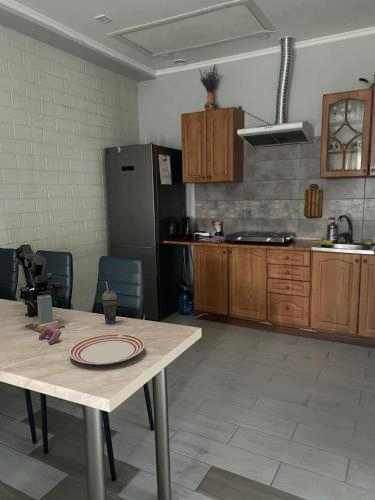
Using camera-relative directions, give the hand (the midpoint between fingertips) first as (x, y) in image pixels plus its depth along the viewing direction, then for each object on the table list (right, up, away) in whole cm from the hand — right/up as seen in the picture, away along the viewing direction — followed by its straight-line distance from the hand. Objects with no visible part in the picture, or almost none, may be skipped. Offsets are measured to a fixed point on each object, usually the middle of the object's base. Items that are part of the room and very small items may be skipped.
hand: (45, 305), depth 169 cm
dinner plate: (+34, -14, -29) cm, 47 cm away
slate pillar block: (-1, -8, +2) cm, 8 cm away
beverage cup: (+28, -9, +8) cm, 30 cm away
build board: (-1, -10, +3) cm, 11 cm away
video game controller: (+7, -12, -14) cm, 20 cm away
